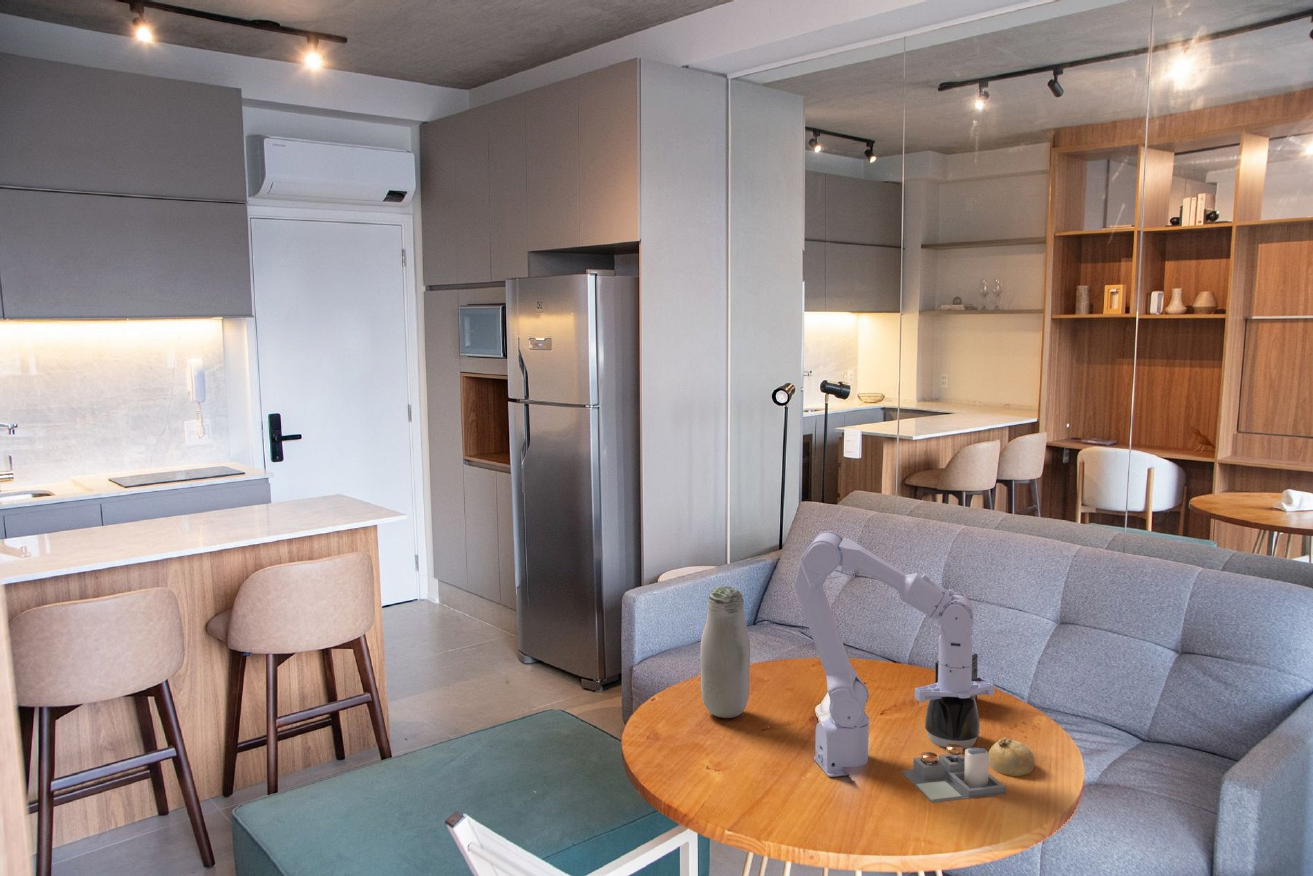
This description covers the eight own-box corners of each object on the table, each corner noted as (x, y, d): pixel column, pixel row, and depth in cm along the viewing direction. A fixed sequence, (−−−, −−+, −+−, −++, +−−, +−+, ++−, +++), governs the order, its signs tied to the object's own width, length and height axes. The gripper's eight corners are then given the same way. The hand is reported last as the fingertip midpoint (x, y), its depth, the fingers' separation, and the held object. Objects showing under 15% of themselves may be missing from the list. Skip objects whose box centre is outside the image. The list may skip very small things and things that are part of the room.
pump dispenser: (983, 760, 178) (985, 683, 176) (926, 756, 180) (928, 679, 178) (976, 738, 188) (978, 664, 186) (922, 734, 190) (924, 661, 188)
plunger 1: (925, 774, 168) (925, 759, 167) (918, 767, 170) (918, 752, 170) (939, 773, 168) (940, 758, 168) (932, 766, 171) (932, 751, 171)
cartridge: (971, 791, 163) (972, 755, 162) (959, 781, 166) (960, 746, 166) (992, 789, 163) (993, 753, 163) (980, 778, 167) (981, 743, 167)
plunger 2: (951, 766, 169) (951, 751, 168) (943, 759, 171) (943, 744, 171) (965, 764, 169) (965, 749, 169) (957, 757, 172) (957, 743, 172)
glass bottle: (692, 717, 200) (691, 588, 197) (721, 702, 207) (721, 578, 204) (730, 729, 193) (729, 596, 190) (758, 713, 201) (758, 586, 198)
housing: (932, 811, 159) (932, 789, 159) (899, 778, 171) (900, 758, 170) (1006, 802, 162) (1007, 781, 161) (969, 771, 174) (970, 751, 173)
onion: (1001, 761, 178) (1002, 725, 177) (1042, 775, 172) (1043, 738, 171) (979, 775, 172) (980, 737, 171) (1021, 790, 166) (1022, 751, 166)
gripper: (928, 673, 163) (927, 748, 164) (1004, 667, 166) (1002, 741, 167) (909, 660, 170) (908, 732, 171) (982, 654, 173) (980, 725, 174)
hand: (953, 735), depth 170 cm, fingers closed
